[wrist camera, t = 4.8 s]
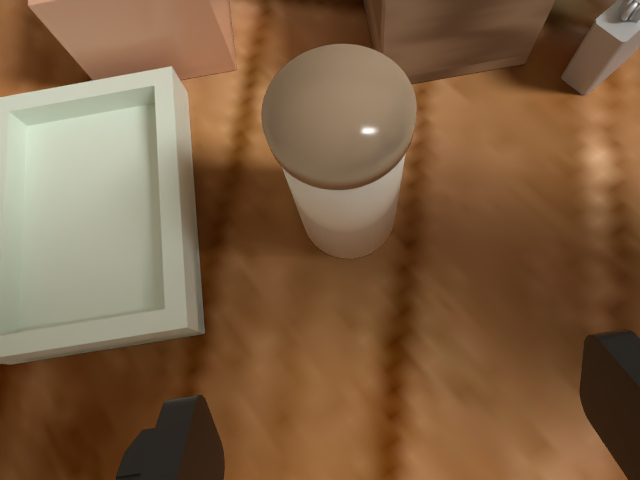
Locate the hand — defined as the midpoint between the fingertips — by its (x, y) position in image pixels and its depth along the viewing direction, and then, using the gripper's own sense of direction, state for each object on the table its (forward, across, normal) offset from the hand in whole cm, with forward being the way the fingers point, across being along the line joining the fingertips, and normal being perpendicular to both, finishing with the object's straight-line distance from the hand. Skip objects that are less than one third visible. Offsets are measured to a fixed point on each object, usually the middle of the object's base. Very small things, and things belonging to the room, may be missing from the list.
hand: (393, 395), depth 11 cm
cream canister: (+16, 0, +3) cm, 16 cm away
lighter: (+21, -16, -2) cm, 26 cm away
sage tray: (+17, +13, +2) cm, 22 cm away
